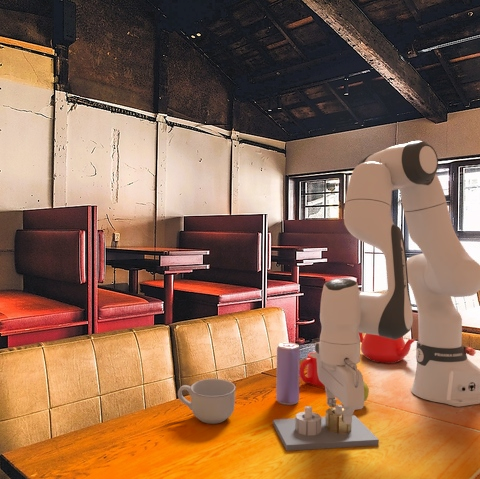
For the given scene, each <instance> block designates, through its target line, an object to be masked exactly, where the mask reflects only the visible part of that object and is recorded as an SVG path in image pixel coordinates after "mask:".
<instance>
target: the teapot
mask: <svg viewBox="0 0 480 479" xmlns="http://www.w3.org/2000/svg"><path fill="white" fill-rule="evenodd" d="M359 336H360V353H362V354H363V355H364V357H366V358H367V359H369V360H370V361H372V362H377V363H380V364H381V363H382V364H393V363H398V362H399V361H402V360H404V358H405V357H406V356H407V355H409V353H410V350H411V345H412V344H413V343H414V342H417V340H416V339H411V338H410V339H409V338H408V340H407V341H406V342H405V340H404V338H403V337H404V336H402V337H401V338H399V339H396V340H394V339H390V338H386V337H382V336H379V335H373V334H366V333H365V335H364V336H363V333H360V332H359Z"/></svg>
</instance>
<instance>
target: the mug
mask: <svg viewBox="0 0 480 479" xmlns="http://www.w3.org/2000/svg"><path fill="white" fill-rule="evenodd" d="M306 357H307V358H305V359H304V360H303V361H302V362H301V364H300V365H299V379H300V380H302V382H304V383H309V384H310V385H313V386H320V387H321V386H323V387H325V385H324V384H323V383H322V382H321V381H320V380H319V378H318V373H317V353H316V351H314V352H309V353H307V356H306ZM306 367H307V368H306ZM305 369H307V370H306V375H305Z"/></svg>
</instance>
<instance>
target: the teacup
mask: <svg viewBox="0 0 480 479" xmlns="http://www.w3.org/2000/svg"><path fill="white" fill-rule="evenodd" d="M236 388H237V387H236V385H235V384H234V383H233V382H232V381H230V380H227V379H222V378H205V379H200V380H198V381H196V382H194V383H193V384H191V386H190V385H187V384H183V385H181V386H180V387H179V389H178V390H177V397H178V400H180V402H181V403H182V404H184V405H186V406H187V407H188V409H189V410H191V411H192V412H191V413H192V414H193V416H194V417H195V418H196V419H198V420H199V421H200V422H202V423H205V424H209V425H210V424H211V425H214V424H220V423H223V422H225V421H226V420H227V419H228V418H230V417H231V415H232V414H233V413H234V410H235V402H236ZM185 390H186V391H187V392H188V394H189V396H190V401H189V400H188V399H187V398H185V397H184V396H183V391H185Z"/></svg>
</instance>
